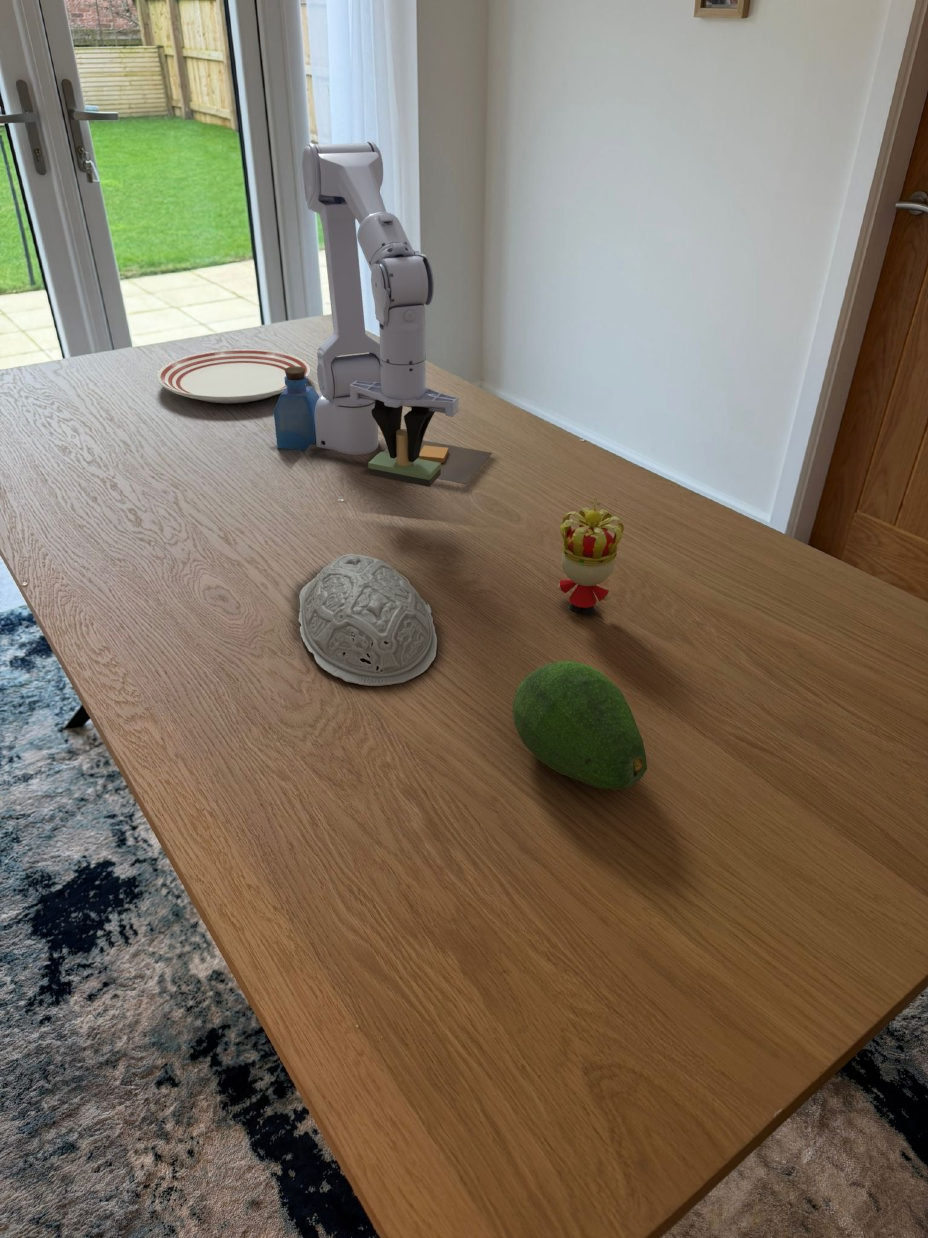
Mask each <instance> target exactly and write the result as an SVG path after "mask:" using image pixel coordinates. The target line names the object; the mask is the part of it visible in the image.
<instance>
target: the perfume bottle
mask: <svg viewBox="0 0 928 1238" xmlns="http://www.w3.org/2000/svg"><path fill="white" fill-rule="evenodd" d="M285 373H286V376H285V378H284V379H285V385H287V387H286V388H285V389H284V391H283V392H282V393H280V394H279V398H278V399H277V400H278V401H277V402H276V405H275V407H274V409H273V419H274V428H275V437H276V447H277V449H283V450H299V451H307V450H308V449H309V448H310V446H312V445H315V444H316V431H315V417H314V415H315V407H316V403H317V401H318V399H319V397H320V395H319V394H318V393H317V391H316V390H315V389H314V387H313V386H309V385H308V386H307V384H308V377H306V375H304V374H305V368H303V367H298V366H293V367H288V368H286V369H285Z"/></svg>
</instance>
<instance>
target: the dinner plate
mask: <svg viewBox="0 0 928 1238" xmlns="http://www.w3.org/2000/svg"><path fill="white" fill-rule="evenodd" d="M293 366H298V367H303V368H305V374H304V375H306V377H307V378H308V377H309V375H310V374H311V367H310V365H309V364H308V362H306V361H305V360H304V359H302V358H300V357H298V356H296V355H293V354H290V353H286V352H282V351H276V350H268V349H255V348H233V349H231V348H230V349H220V350H212V351H206V352H204V351H203V352H198V353H194V354H190V355H186V356H183V357H180V358H177V359H175V360H172V361H170V362H168V363H167V364H165V365H164V366H162V367H161V368H160V369H159V370H158V372H157V374H156V380H157V382H158V384H159V385H160V386H161V387H163V388H164V389H166V390H167V391H170V392H171V393H174V394H176V395H179V396H182V397H186V398H188V399H192V400H193V399H194V400H197V401H203V402H208V403H213V404H245V403H252V402H257V401H260V400H265V399H268V398H270V397H274V396H276V395H281V393H282V392H283V391H284V389H285V388H286V387H287V385H285V379H284V378H285V376H286V373H285V369H286V368H288V367H293Z"/></svg>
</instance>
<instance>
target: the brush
mask: <svg viewBox="0 0 928 1238" xmlns="http://www.w3.org/2000/svg"><path fill="white" fill-rule="evenodd" d="M367 463H368V464H367V468H368V475H369V476H374V477H377V478H378V477H379V478H384V479H389V480H393V481H396V482H397V481H398V482H401V483H402V482H403V483H407V484H412V485H416V486H417V485H418V486H423V487H428V488H430V487H431V486H432V485H433V484H434V483H435V482H436V481H437V480H438V479H437V478H438V477H439V476H440V475H441V463H438V462H433V461H428V460H423V459H418V458H417V459H416V460H415V461H414V462H409V460H408V437H407V430H406V428H401V429H400V430H397V431H396V458H395V459H394V458H390V455H389V453H386V452H383V451H380V452H378V453H377V454H376V455H374V457H373V458H372V459H371V460H369V461H368V462H367Z"/></svg>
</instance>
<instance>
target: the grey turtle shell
mask: <svg viewBox="0 0 928 1238" xmlns="http://www.w3.org/2000/svg"><path fill="white" fill-rule="evenodd" d="M298 598H299V603H300V604H299V606H300V607H299V613H298V616H299V617H298V623H299V624H300V627H299V631H300V637H301V639H302V641H303V643H304V645H305V647H306V648H307V650H308V652H309V653H312V654H313V657H314V660H315V662H316V663H317V665H318V666H319V667H320V668H322V670H324V671H326V672H327V673H329V674H330V675H332V676H334V677H336V678H340V679H341V680H343V682H346V683H352V684H358V685H360V686H368V687H382V686H388V685H389V686H392V685H399V684H404V683H406V682H408V681H410V680H412V679H414V678H416V677H418V676H420V675H421V674H423V673H424V672H426V671H427V670H428V669H429V667H430V666H431V664H432V663H433V661H435V658H436V656H437V647H438V638H437V633H436V627H435V625H434V618H433V616H432V612H433V611H432V608H431V606H430V603H428V602H427V601H426V602H425V600H424V599H422V597H421V595H420V593H418V591H417V590H416V588H414V586H413V585H411V584H410V581H409V579H408V578H407V577H406V576H404V575H403V574H401V573H400V572H399V571H397V569H395V568H394V567H393V565H391V564H389V563H387V562H386V561H383V560H381V559H379V558H375V557H371V556H370V555H365V554H356V553H346V554H343V555H340V556H336V558H335V559H333V560H332V561H331V562H329V564H327V565H325V566H324V567H323V568H322V569H321V570H320V572H319V573H316V576H315V577H314V578H312V579H311V580H310V581H309V582H307V584H305V585H304V586H303V587H302V589H301V590H300V592H299V596H298ZM344 653H345V654H344ZM367 654H368V655H367ZM361 659H364V660H366V661H369V662H370V663H368V662H366V661H364V662H363V661H362V660H361ZM377 667H378V669H377Z"/></svg>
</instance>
